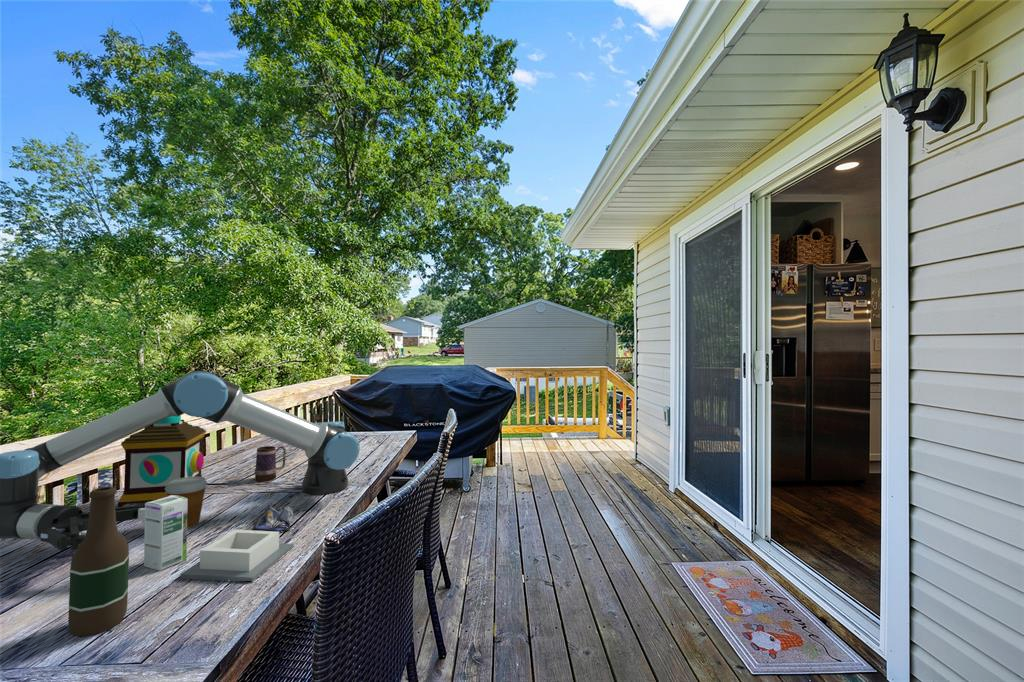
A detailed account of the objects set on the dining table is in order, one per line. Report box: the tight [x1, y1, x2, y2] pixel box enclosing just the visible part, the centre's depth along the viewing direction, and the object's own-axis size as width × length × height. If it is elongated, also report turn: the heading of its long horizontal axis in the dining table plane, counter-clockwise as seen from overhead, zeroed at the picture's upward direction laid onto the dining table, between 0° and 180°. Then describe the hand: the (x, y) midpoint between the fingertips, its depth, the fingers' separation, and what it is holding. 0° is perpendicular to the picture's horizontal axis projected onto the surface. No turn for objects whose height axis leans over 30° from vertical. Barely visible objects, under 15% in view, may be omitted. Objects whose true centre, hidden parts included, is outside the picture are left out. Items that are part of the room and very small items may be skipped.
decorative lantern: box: [116, 415, 207, 507], centre depth 141 cm, size 20×20×30 cm
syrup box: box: [143, 495, 188, 572], centre depth 102 cm, size 6×6×14 cm
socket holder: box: [179, 529, 295, 582], centre depth 103 cm, size 16×16×5 cm
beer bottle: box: [67, 486, 130, 638], centre depth 80 cm, size 8×8×24 cm
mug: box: [254, 444, 287, 483], centre depth 167 cm, size 10×7×12 cm
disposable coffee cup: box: [165, 476, 208, 529], centre depth 124 cm, size 10×10×12 cm
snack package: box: [254, 504, 294, 533], centre depth 124 cm, size 12×6×12 cm
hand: (140, 526), depth 102 cm, fingers open, 13 cm apart
